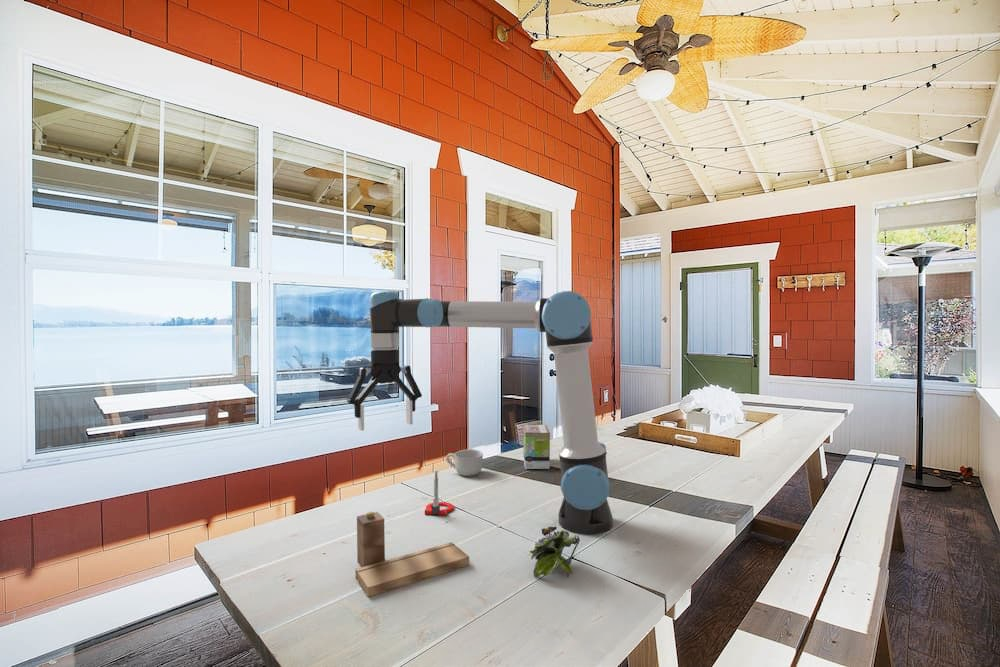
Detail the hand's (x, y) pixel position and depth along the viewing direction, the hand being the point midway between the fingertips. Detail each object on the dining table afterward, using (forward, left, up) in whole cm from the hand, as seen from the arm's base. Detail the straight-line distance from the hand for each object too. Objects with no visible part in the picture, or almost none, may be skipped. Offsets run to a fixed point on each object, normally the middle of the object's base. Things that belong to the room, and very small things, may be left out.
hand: (386, 426), depth 132 cm
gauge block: (-10, +15, -29) cm, 34 cm away
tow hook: (-3, -19, -29) cm, 35 cm away
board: (-21, +13, -29) cm, 38 cm away
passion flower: (-49, -4, -29) cm, 57 cm away
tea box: (-7, -76, -29) cm, 82 cm away
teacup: (+11, -52, -29) cm, 61 cm away
